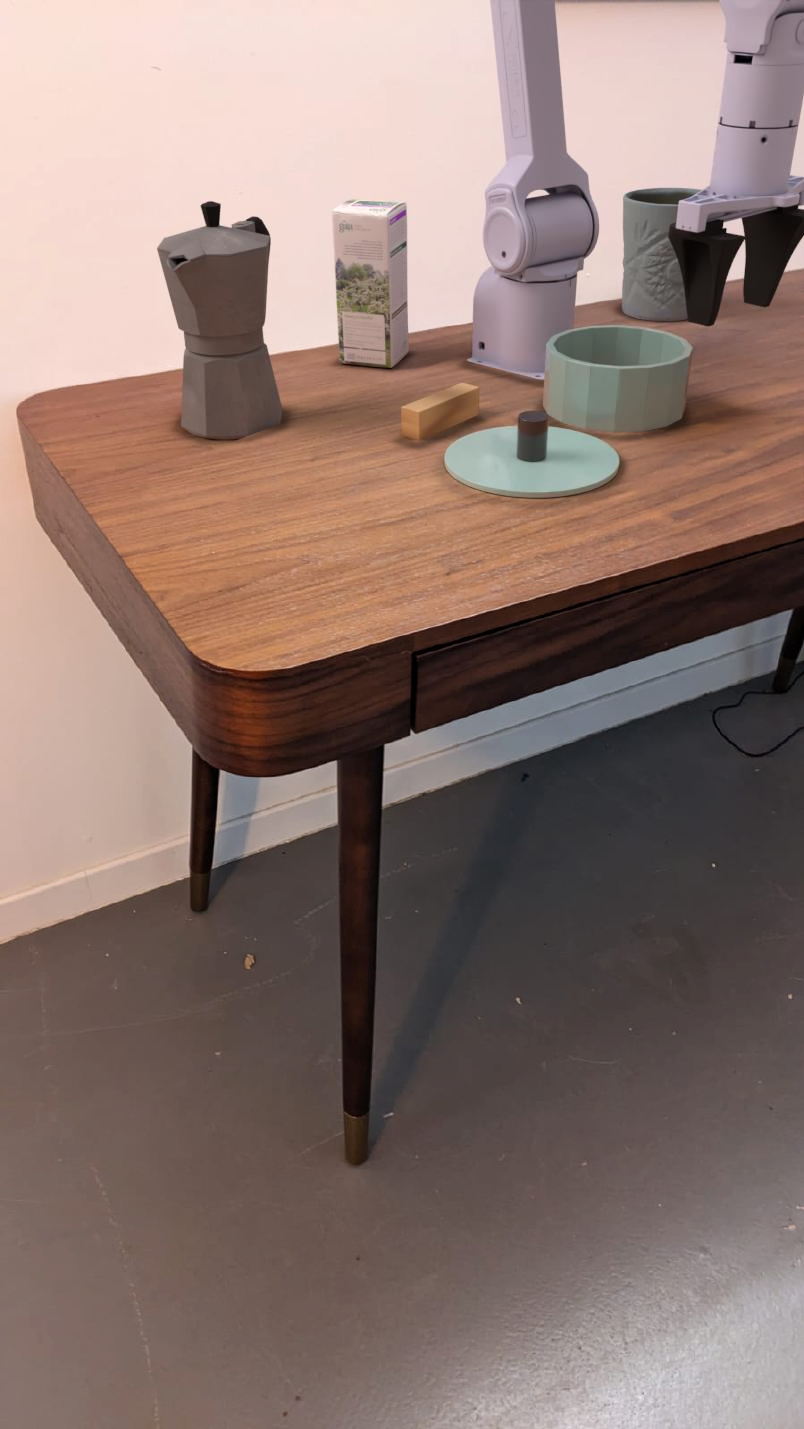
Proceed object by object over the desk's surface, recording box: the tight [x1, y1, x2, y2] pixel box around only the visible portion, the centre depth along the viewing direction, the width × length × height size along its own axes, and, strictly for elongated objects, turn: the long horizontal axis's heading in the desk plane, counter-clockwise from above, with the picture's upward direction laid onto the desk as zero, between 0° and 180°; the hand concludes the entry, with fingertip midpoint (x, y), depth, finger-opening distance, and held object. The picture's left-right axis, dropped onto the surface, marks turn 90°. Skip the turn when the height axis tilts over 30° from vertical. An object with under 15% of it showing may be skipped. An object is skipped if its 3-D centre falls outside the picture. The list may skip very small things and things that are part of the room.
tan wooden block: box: [400, 382, 481, 441], centre depth 96 cm, size 8×2×3 cm, turn 138°
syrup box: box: [331, 199, 410, 369], centre depth 109 cm, size 6×6×14 cm
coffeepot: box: [156, 200, 283, 441], centre depth 95 cm, size 15×9×18 cm, turn 159°
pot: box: [542, 324, 694, 433], centre depth 98 cm, size 12×12×6 cm
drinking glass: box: [621, 187, 702, 322], centre depth 123 cm, size 10×10×12 cm
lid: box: [443, 410, 620, 499], centre depth 88 cm, size 14×14×4 cm
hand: (729, 313), depth 90 cm, fingers open, 7 cm apart
